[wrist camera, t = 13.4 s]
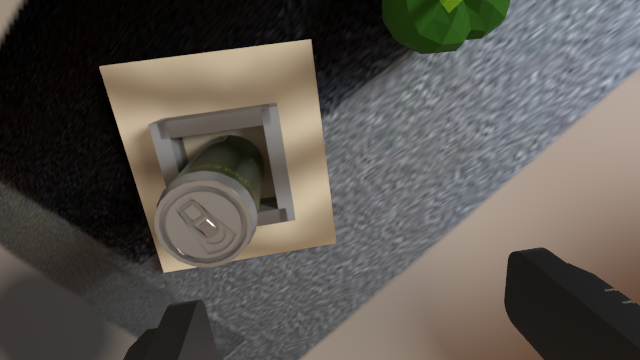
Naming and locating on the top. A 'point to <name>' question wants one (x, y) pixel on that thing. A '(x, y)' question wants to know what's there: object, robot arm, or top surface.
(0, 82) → the top surface
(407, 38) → the bell pepper
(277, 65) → the collar board
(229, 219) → the beer can
